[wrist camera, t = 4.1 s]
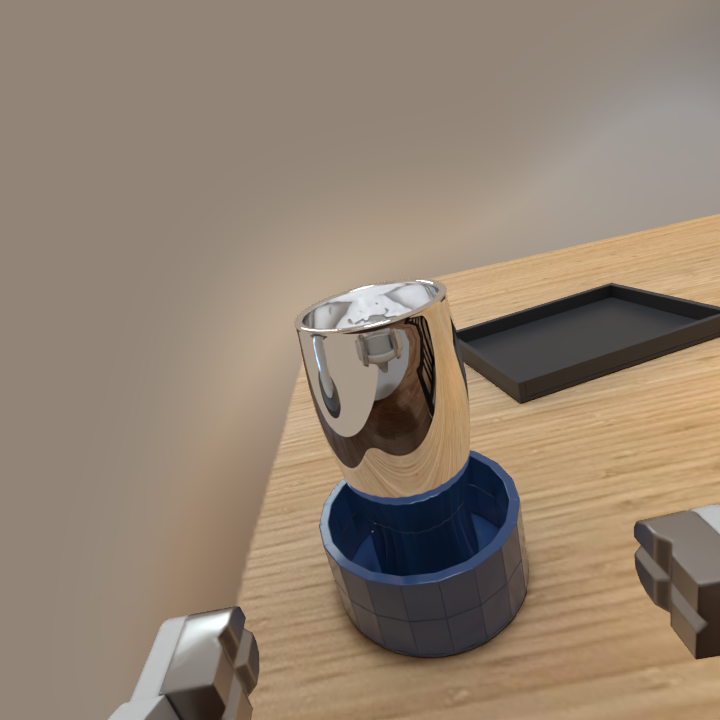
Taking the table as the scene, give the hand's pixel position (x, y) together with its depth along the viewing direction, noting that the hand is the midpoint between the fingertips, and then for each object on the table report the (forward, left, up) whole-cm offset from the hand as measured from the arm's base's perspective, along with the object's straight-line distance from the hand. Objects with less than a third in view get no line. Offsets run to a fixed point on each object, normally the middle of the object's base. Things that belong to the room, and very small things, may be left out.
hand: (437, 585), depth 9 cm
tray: (+26, +32, -12) cm, 43 cm away
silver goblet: (+2, +12, -12) cm, 17 cm away
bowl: (+2, +12, -12) cm, 17 cm away
